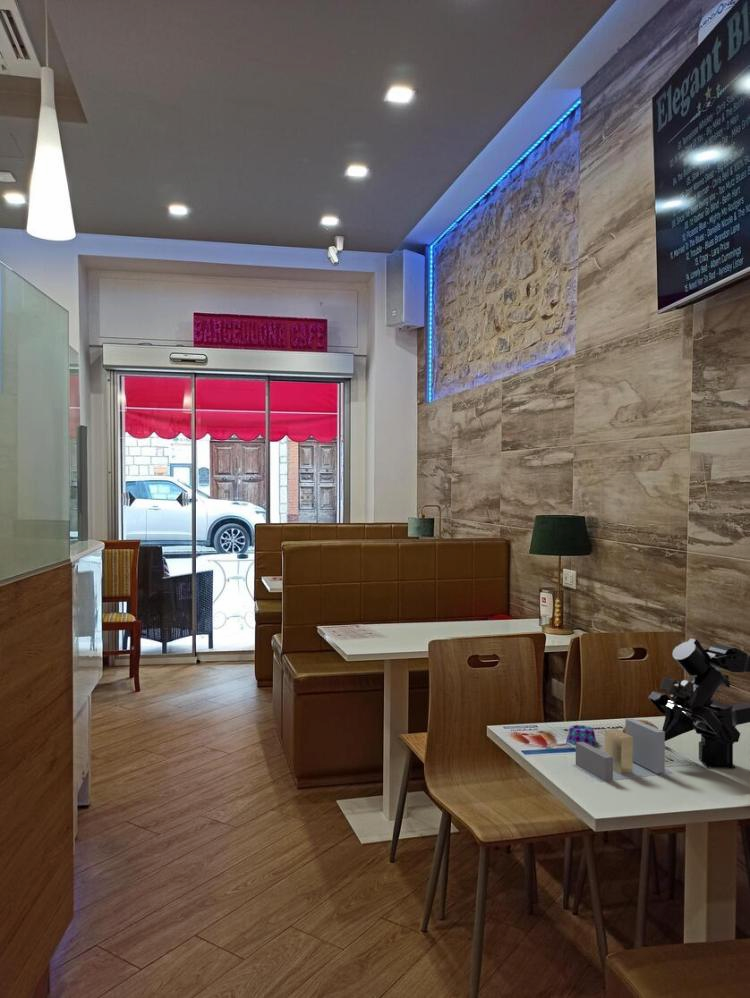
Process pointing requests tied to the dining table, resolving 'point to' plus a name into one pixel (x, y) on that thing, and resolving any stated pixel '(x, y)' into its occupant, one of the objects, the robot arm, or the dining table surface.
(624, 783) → the dining table surface
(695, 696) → the robot arm
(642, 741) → the sliding jaw
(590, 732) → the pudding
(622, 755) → the brass block
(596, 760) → the plate
